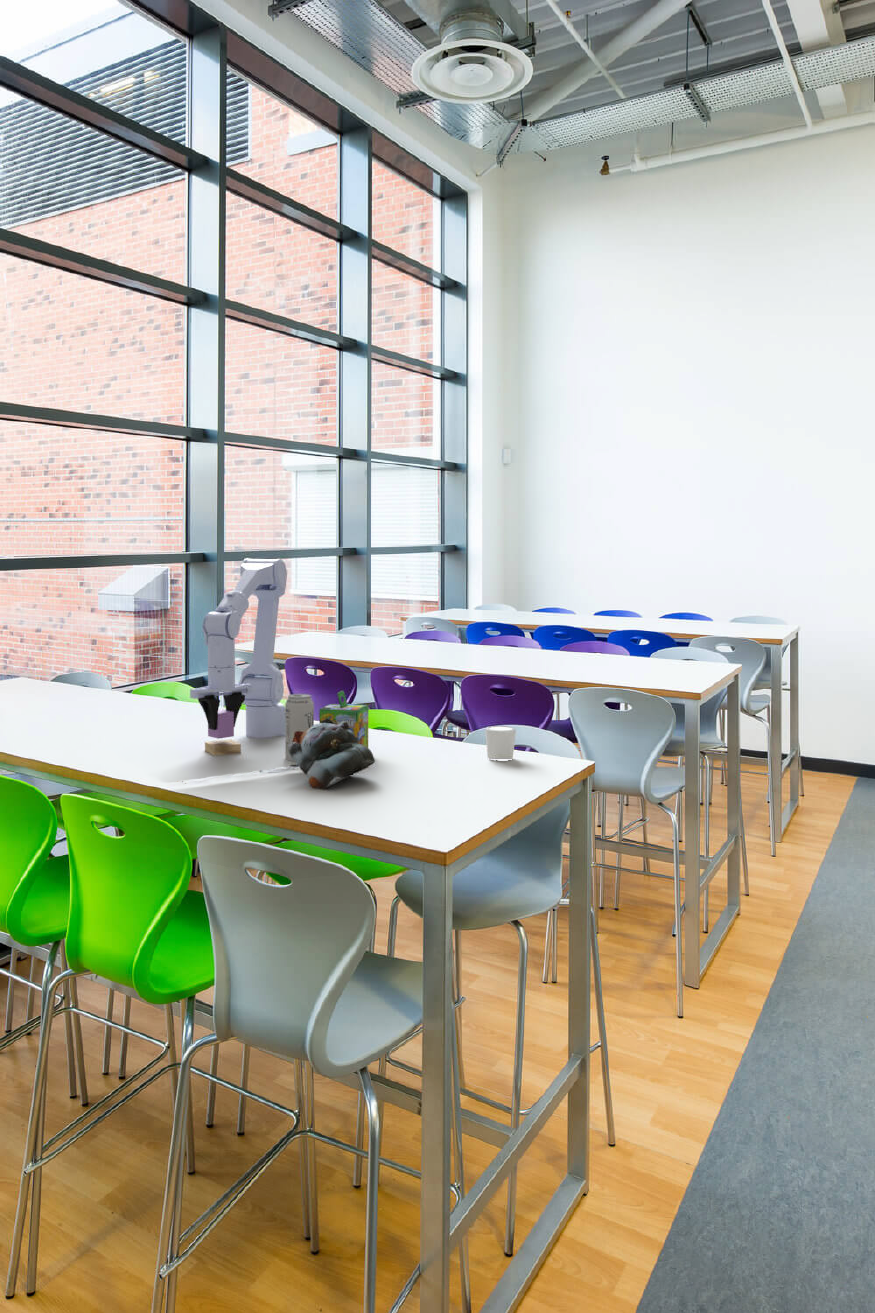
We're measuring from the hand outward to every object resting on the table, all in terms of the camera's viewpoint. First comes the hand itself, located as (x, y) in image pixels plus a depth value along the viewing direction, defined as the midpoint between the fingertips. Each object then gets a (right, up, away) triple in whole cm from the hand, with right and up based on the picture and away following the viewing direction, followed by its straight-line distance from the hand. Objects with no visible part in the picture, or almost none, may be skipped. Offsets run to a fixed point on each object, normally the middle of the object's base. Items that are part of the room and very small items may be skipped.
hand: (222, 728), depth 197 cm
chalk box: (+27, -7, +4) cm, 28 cm away
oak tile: (0, -5, +1) cm, 5 cm away
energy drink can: (+18, -8, -4) cm, 20 cm away
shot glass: (+62, -8, +4) cm, 62 cm away
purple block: (0, -2, 0) cm, 2 cm away
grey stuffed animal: (+26, -9, -19) cm, 34 cm away
